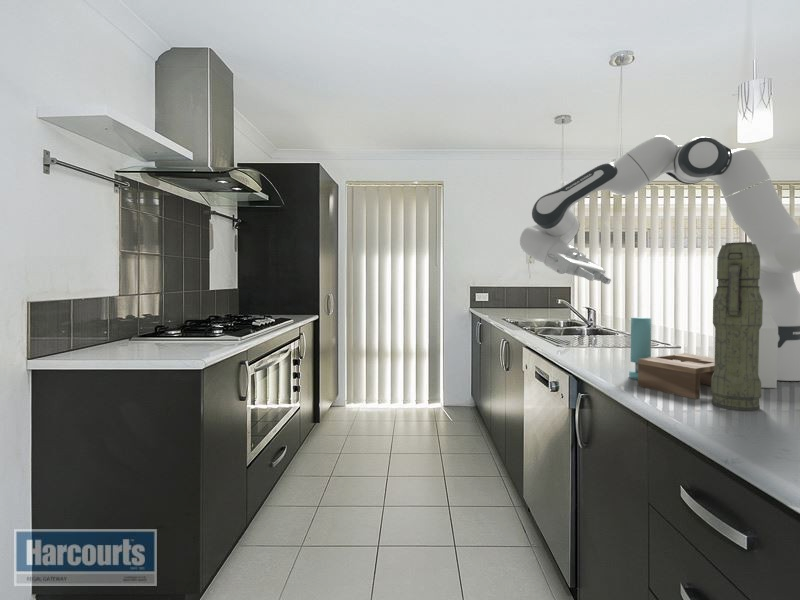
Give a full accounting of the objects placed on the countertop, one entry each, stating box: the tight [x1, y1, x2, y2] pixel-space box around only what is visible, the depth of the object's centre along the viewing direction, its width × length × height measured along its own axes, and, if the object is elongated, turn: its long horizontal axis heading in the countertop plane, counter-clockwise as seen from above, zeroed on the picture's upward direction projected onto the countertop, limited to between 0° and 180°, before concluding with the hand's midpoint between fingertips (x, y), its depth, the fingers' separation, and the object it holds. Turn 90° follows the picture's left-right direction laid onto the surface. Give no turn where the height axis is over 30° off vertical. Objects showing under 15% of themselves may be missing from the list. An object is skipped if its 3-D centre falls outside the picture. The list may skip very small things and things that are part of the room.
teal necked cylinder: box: [628, 316, 652, 381], centre depth 136 cm, size 6×6×16 cm
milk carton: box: [758, 311, 778, 389], centre depth 125 cm, size 7×7×19 cm
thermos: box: [710, 241, 763, 412], centre depth 106 cm, size 9×12×35 cm
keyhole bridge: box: [637, 352, 715, 400], centre depth 123 cm, size 18×15×7 cm
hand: (601, 280), depth 139 cm, fingers open, 8 cm apart
